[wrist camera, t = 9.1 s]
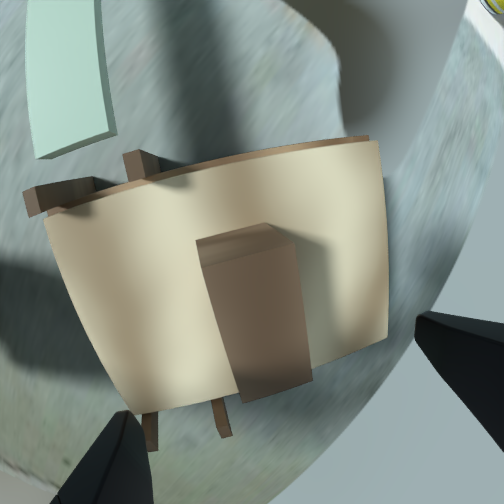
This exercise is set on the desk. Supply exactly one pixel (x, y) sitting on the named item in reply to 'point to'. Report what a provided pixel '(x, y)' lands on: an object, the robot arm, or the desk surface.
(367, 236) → the lid
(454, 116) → the desk surface
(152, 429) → the box
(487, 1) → the supplement bottle
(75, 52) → the key
